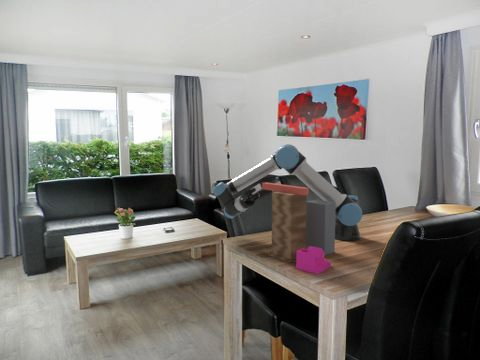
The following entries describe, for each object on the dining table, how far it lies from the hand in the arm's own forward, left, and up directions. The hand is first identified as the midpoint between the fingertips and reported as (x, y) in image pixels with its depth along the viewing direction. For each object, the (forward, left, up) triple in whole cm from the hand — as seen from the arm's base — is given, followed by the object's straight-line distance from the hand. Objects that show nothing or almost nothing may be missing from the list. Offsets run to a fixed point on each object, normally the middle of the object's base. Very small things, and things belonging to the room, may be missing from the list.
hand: (270, 184), depth 186 cm
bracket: (-23, +17, -33) cm, 44 cm away
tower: (-10, +6, -32) cm, 34 cm away
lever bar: (-7, +4, -2) cm, 9 cm away
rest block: (-23, -7, -32) cm, 40 cm away
